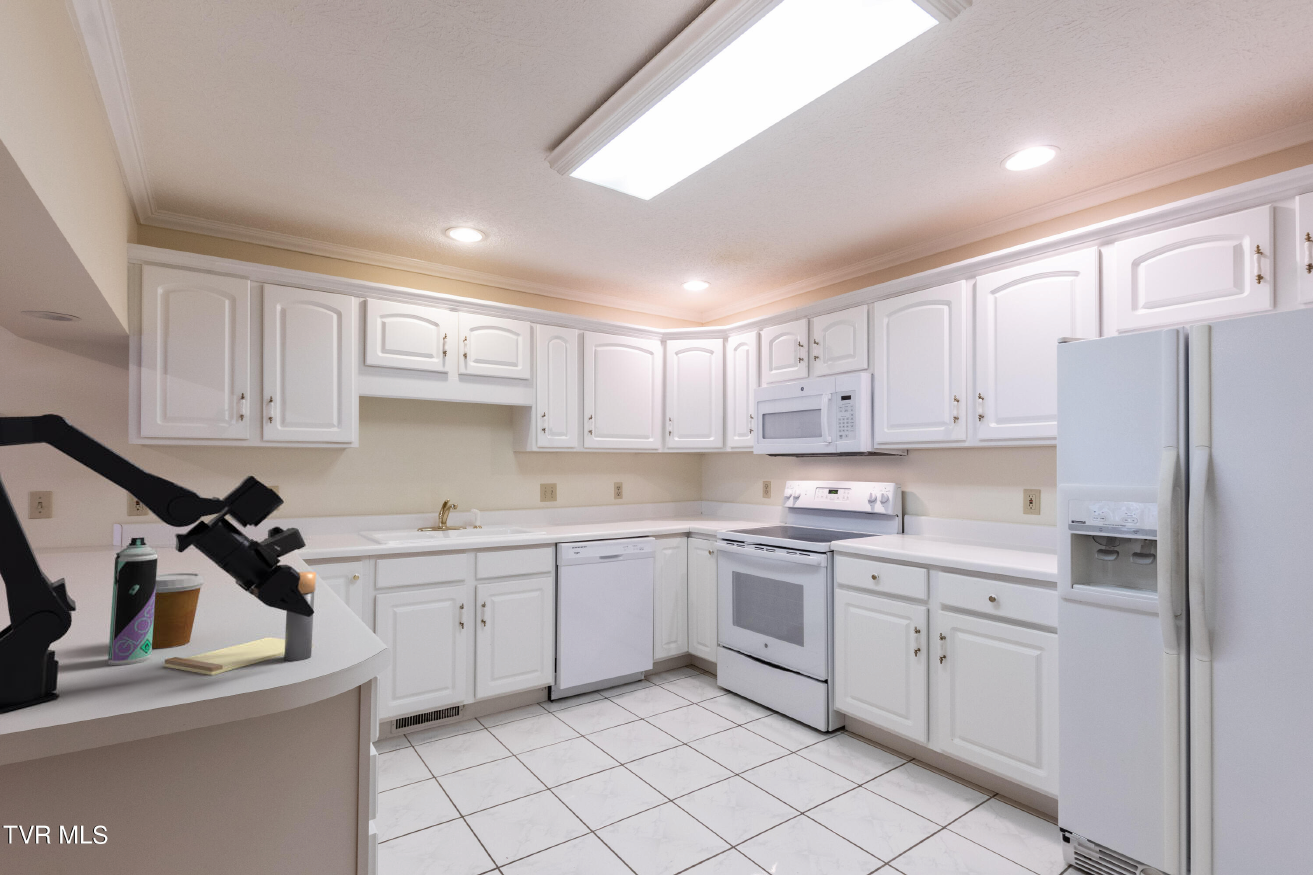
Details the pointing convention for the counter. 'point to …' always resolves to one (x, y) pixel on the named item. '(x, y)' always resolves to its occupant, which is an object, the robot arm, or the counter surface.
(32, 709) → the counter surface
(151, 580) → the spray can
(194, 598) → the disposable coffee cup
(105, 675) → the counter surface
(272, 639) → the legal pad
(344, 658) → the counter surface
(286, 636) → the ball
